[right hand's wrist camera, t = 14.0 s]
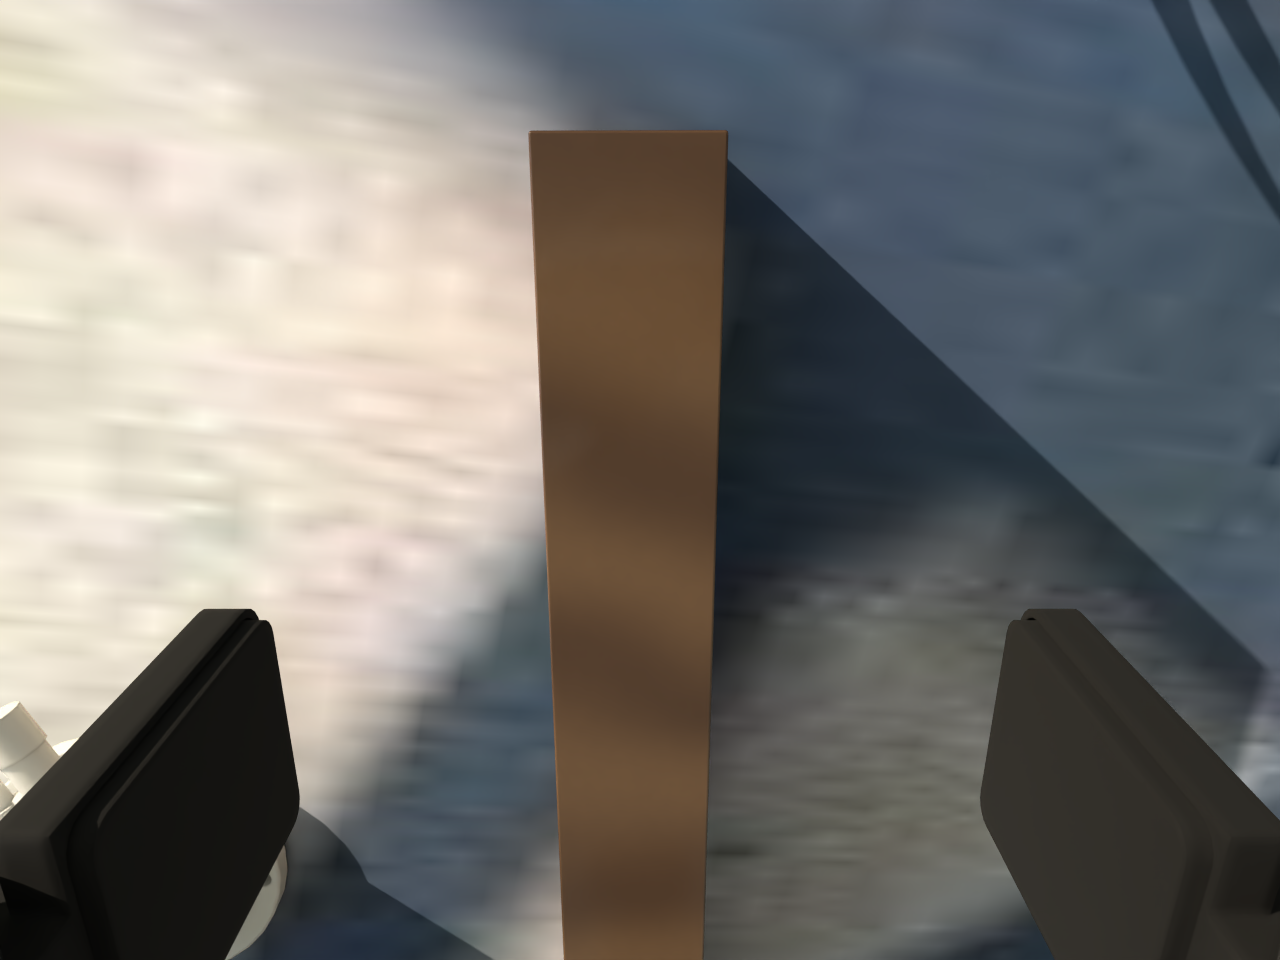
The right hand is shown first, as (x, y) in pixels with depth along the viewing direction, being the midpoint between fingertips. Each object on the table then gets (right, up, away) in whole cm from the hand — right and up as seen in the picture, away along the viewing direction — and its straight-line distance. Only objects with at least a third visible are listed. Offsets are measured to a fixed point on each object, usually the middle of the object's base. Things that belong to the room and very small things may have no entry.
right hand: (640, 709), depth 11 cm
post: (0, -21, +31) cm, 38 cm away
